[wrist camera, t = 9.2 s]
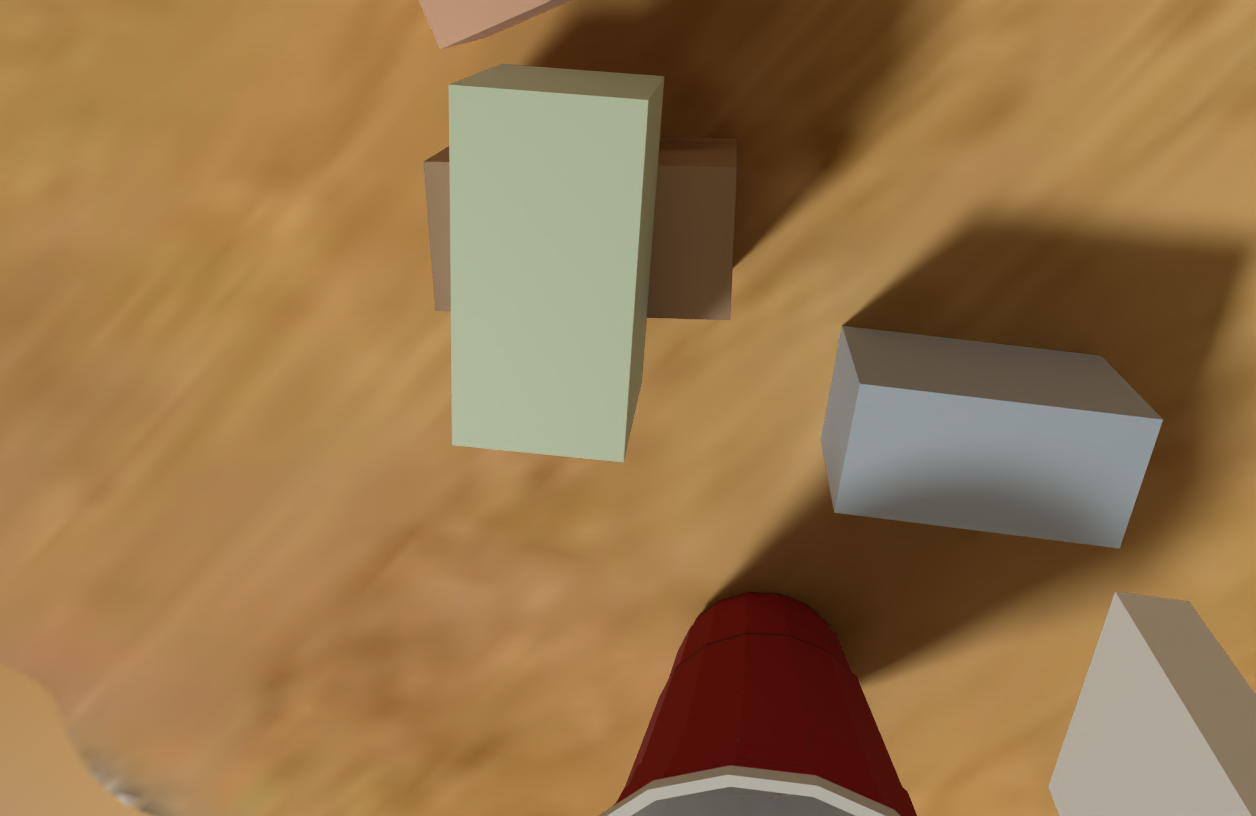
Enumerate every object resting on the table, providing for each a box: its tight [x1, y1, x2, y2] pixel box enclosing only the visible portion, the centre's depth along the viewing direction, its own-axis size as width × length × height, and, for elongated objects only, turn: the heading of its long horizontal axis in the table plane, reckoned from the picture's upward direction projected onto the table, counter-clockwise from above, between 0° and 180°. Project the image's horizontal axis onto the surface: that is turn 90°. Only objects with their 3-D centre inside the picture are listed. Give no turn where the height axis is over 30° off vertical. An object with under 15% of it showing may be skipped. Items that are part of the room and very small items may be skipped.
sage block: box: [449, 64, 664, 462], centre depth 24 cm, size 8×4×5 cm, turn 176°
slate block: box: [821, 326, 1163, 549], centre depth 30 cm, size 8×4×5 cm, turn 85°
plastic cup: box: [599, 592, 917, 816], centre depth 31 cm, size 11×11×12 cm
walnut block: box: [424, 137, 737, 320], centre depth 28 cm, size 8×4×5 cm, turn 90°
